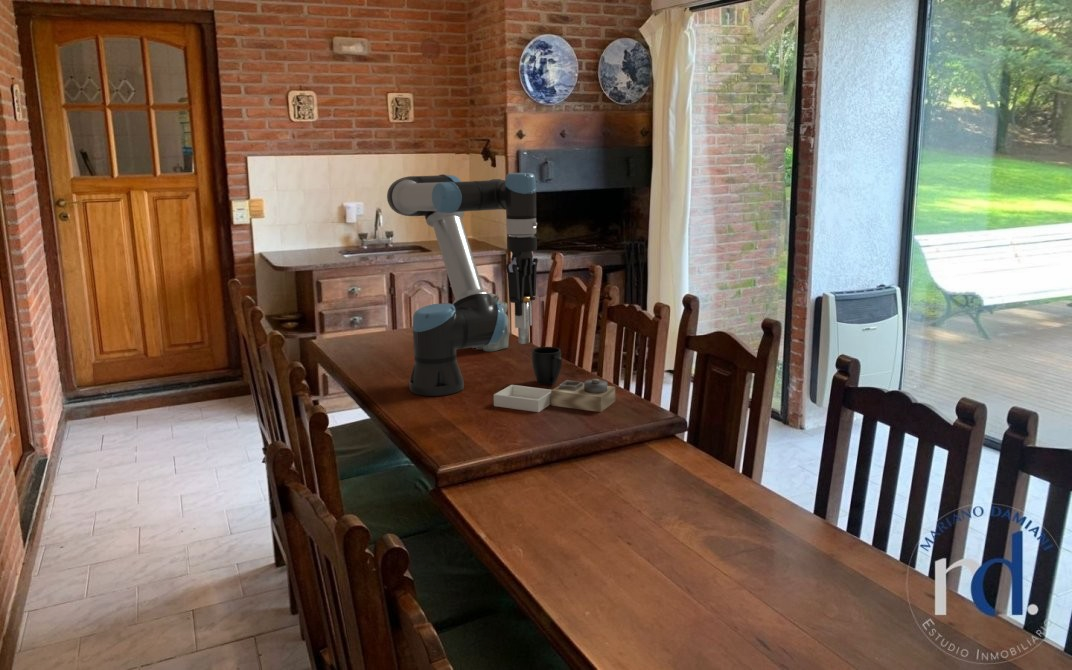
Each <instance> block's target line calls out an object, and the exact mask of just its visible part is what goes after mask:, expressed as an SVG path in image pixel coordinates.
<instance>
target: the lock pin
mask: <svg viewBox="0 0 1072 670" xmlns="http://www.w3.org/2000/svg"><path fill="white" fill-rule="evenodd" d="M529 301H530V296H524V301H523V303H525V312H526V328H517V329H518V330H517V332H518V333H517V334H518V344H521V345H524V344H525V345H526V344H530V326H529Z"/></svg>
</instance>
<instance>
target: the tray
mask: <svg viewBox="0 0 1072 670" xmlns="http://www.w3.org/2000/svg"><path fill="white" fill-rule="evenodd" d="M551 390H552V389H549V388H548V389H547V388H540V387H532V386H524V385H517V384H510V385H508V386H507V387H505V388H504V389H501V390H499V391H497V392H496V393H494V394H493V406H494V407H500V408H507V409H513V410H518V411H519V410H520V411H521V410H522V411H529V412H535V413H539V412H540V413H541V411H543V410H544V409H546V408H548V407H550V405H551Z"/></svg>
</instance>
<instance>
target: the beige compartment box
mask: <svg viewBox="0 0 1072 670" xmlns="http://www.w3.org/2000/svg"><path fill="white" fill-rule="evenodd" d="M550 390H551V404H550V405H551V406H553V407H560V408H568V409H576V410H584V411H591V412H598V413H602V412H603V411H604V410H605V409H607V408H609V407H610V406H611V405H613V404H614V403H615V402H616V386H612V385H608V381H606V380H603V379H599V378H592V379H588V380H586V381H584V382H583V381H578V380H577V381H576V380H568V379H566V380H564V381H563V382H561V383H560V384H558V386H556V387H555V388H553V389H550Z"/></svg>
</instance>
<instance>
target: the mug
mask: <svg viewBox="0 0 1072 670" xmlns="http://www.w3.org/2000/svg"><path fill="white" fill-rule="evenodd" d="M531 360H532V361H531V364H532V368H533V372H534V375H535V378H536V379H535V380H536V383H537V384H539V385H543V386H550V385H554V384H556V383H557V382H558V378H559V376H560V372H561V370H562V369H561V368H562V365H563V364H562V362H563V360H562V350H561V348H559V347H555V346H539V347H536V348H533V349H532V350H531Z"/></svg>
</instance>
